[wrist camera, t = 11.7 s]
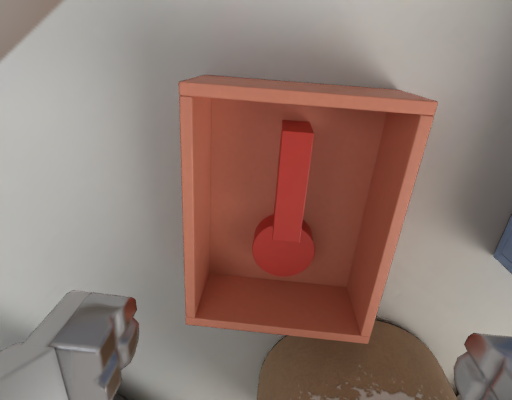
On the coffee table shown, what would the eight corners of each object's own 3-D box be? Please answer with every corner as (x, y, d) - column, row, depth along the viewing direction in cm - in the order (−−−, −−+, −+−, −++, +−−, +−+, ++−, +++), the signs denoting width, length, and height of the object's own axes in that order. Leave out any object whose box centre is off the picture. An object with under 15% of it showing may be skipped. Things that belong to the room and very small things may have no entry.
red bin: (203, 74, 19) (178, 81, 14) (399, 90, 18) (438, 101, 14) (203, 274, 25) (185, 324, 20) (351, 289, 24) (368, 344, 20)
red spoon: (261, 118, 19) (258, 128, 16) (330, 123, 19) (338, 134, 16) (252, 260, 23) (248, 287, 20) (308, 265, 23) (312, 293, 20)
